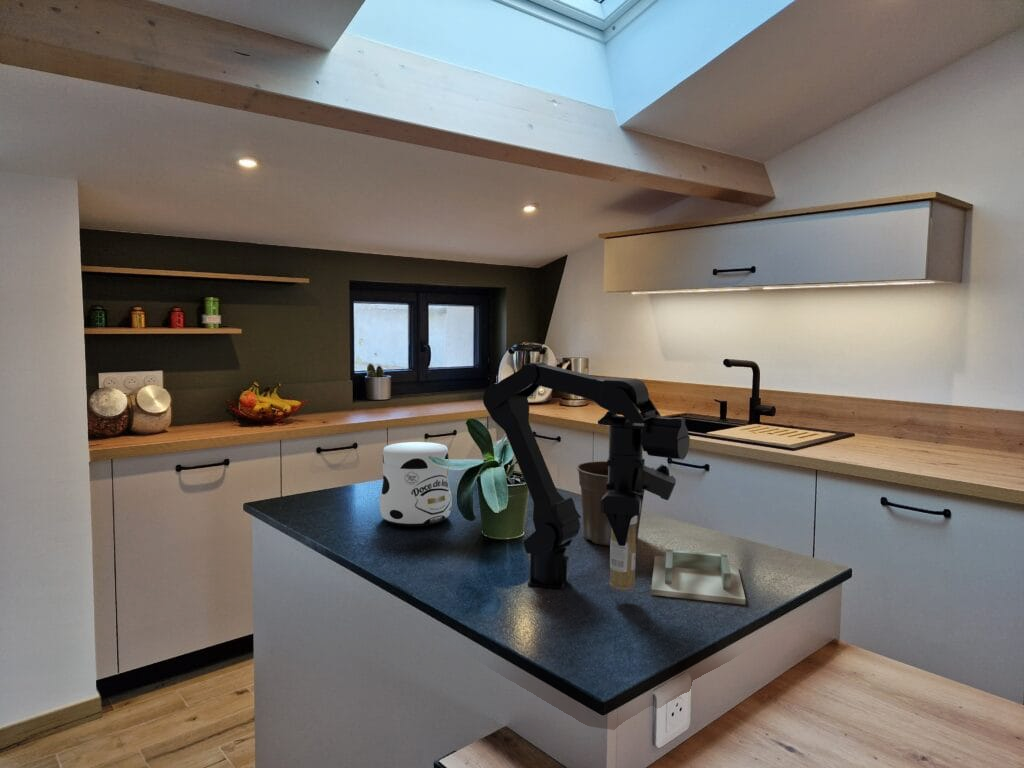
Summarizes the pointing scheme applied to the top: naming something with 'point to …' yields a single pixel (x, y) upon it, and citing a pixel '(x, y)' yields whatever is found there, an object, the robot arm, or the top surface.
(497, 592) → the top surface
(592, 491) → the plant pot
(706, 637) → the top surface
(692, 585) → the u rest
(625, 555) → the sprinkles bottle
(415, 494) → the doce de leite jar
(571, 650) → the top surface
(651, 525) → the top surface
